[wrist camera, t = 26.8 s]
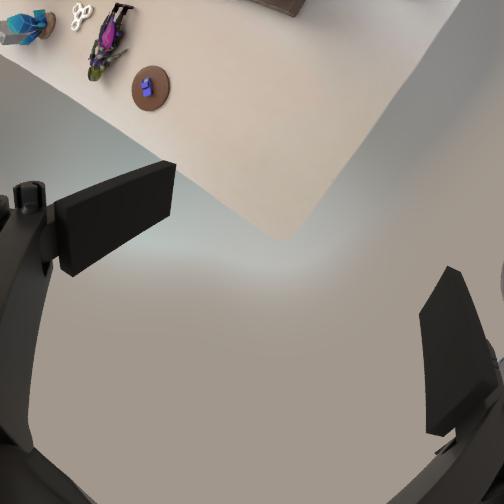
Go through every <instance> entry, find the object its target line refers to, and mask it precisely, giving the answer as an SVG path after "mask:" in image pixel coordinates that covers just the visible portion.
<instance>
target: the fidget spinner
mask: <svg viewBox="0 0 504 504" xmlns="http://www.w3.org/2000/svg"><path fill="white" fill-rule="evenodd" d="M78 6H79V9H78V11H77V12H76V8H77V7H78ZM88 8H89V12H88V14H87V15H86V10H87V9H88ZM81 12H82V14H81V17H80V18H79V14H80V13H81ZM91 13H92V6H86V7H85V8H82V4H81V3H77V4H76V5H75V6H74V8H73V14H74V15H75V19H74V21H73V23H72V26H71V29H72V31H77V30H78V29H79V28H80V25H81V22H82V20H83V19H84V18H87V17H89V16H90V15H91ZM76 22H78V24H77V27H76V28H75V27H74V26H75V23H76Z"/></svg>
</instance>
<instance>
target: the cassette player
mask: <svg viewBox="0 0 504 504" xmlns="http://www.w3.org/2000/svg"><path fill="white" fill-rule="evenodd" d="M31 33H32V32H29V33H25V34H18V33H13V32H12V31H11V30H10V29H9V28H8V22H7V21H0V43H1V44H2V45H10V44H20V43H21V42H22V41H23V40H24V39H25V38H26V37H27V36H28V35H29V34H31Z"/></svg>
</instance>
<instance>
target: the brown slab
mask: <svg viewBox="0 0 504 504" xmlns="http://www.w3.org/2000/svg"><path fill="white" fill-rule="evenodd" d="M251 1H254V2H257V3H260V4H262V5H265V6H268V7H270V8H273V9H275V10H278V11H280V12H283V13H285V14H288V15H290V16H292V17H295V16H296V14H297V13H298V11H299V9H300V8H301V6H302V5H303V3H304V1H305V0H251Z"/></svg>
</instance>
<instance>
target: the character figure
mask: <svg viewBox="0 0 504 504" xmlns="http://www.w3.org/2000/svg"><path fill="white" fill-rule="evenodd" d="M119 7H123V10H122V11H121V13H120V15H119V16H118V18H117V20H116V22H114V21H113V19H114V16H115V13H117V11H118V9H119ZM133 8H134V7H133V6H129V5H126V4H124V6H123V5H122V4H119V3H115V7H114V8H113V10H112V13H111V14H110V12H109V14H110V16H109V15H108V16H109V18H108V16H107V17H106V19H105V21H104V23H103V25H102V26H101V29H100V33H99V40H95V43H94V46H93V49H92V52H91V54H90V58H89V59H91V60H90V66H91V67H90V68H89V70H88V78H89V80H90V81H97V80H99V78H100V77H101V75H102V74H101V72H103V69H104V68H105V67H106V66H107V65H108V67H109V63H110V62H111V61H112V60H114V59H116V58H118V57H120V56H121V55H122V54H123V53H125V52H126V50H127V49H126V50H124V51H123V52H121V53H119V54H117V55H115V56H112V57H110V58H108V55H109V54H110V53H111V52H112V51H113V50H115V48H116V47H117V46H118V44H117V43H118V41H119V39H120V37H121V36H122V33H123V32H122V31H120V26H121V25H122V23H121V22H122V19H123V16H124V15H126V13H127V11H128V9H133ZM107 19H108V21H107ZM106 22H107V24H106ZM120 23H121V24H120ZM98 42H99V43H98ZM98 44H99V46H98V47H99V50H98V54H97V55H95V48H96V46H97V45H98ZM95 56H96V57H95ZM89 59H88V60H89Z"/></svg>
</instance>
